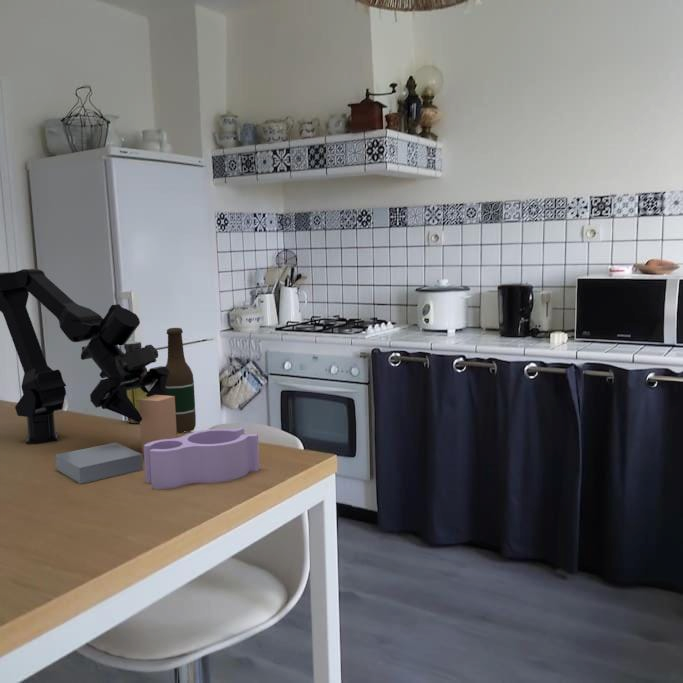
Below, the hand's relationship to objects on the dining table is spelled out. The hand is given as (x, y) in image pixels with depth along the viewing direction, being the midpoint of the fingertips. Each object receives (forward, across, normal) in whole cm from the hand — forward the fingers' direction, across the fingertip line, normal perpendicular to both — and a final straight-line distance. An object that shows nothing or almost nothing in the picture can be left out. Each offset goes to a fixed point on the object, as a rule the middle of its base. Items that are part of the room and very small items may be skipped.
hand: (156, 415), depth 141 cm
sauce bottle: (-12, +22, +23) cm, 34 cm away
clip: (+18, -7, -6) cm, 20 cm away
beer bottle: (-1, +19, +13) cm, 23 cm away
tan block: (+6, 0, +6) cm, 8 cm away
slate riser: (+3, -12, +9) cm, 15 cm away
